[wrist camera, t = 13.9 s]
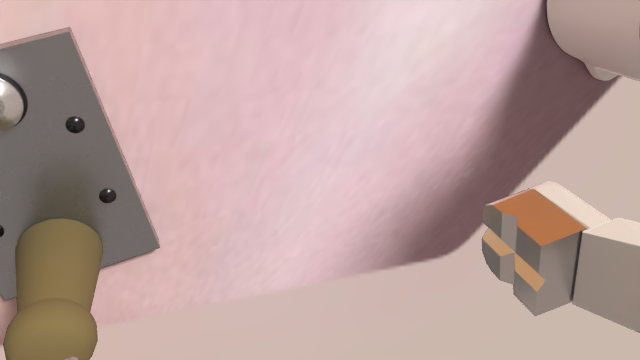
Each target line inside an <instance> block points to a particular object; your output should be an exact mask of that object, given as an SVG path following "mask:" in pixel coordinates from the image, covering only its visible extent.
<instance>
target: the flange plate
mask: <svg viewBox="0 0 640 360" xmlns="http://www.w3.org/2000/svg"><path fill="white" fill-rule="evenodd" d="M0 77H2V78H5V79H7V80H8V81H10V82H11V83H13V84H14V85H15V86H16V87H17V88H18V89H19V91H20V92H21V94H22V97H23V100H24V110H23V113H22V116H21V119H20V120H19V122H18V123H17V124H16V125H15V126H14V127H12V128H10V129H8V130H6V131H2V132H0V294H1V295H2V296H3V298H4V299H5V300H7V299H10V298H13V297H16V296H17V290H16V265H15V249H16V245H17V242H18V240H19V238H20V237H21V236H22V234H23V233H24V232H25V231H26V230H27V229H29V228H30V227H32V226H33V225H35V224H37V223H40V222H43V221H46V220H49V219H61V218H65V219H70V220H76V221H79V222H81V223H83V224H85V225H88V226H89V227H91V228H92V229H93V230H94V231H95V232H96V233H97V234H98V236H99V238H100V239H101V241H102V244H103V256H102V261H101V265H100V268H102V267H105V266H108V265H111V264H114V263H117V262H120V261H123V260H125V259H128V258H131V257H134V256H137V255H140V254H143V253H146V252H149V251H152V250H155V249H158V248H160V245H159V239H158V237H157V234H156V232H155V229H154V227H153V225H152V222H151V220H150V217H149V215H148V213H147V210H146V208H145V205H144V203H143V201H142V198H141V196H140V194H139V191H138V189H137V186H136V184H135V182H134V179H133V177H132V174H131V172H130V170H129V167H128V165H127V162H126V160H125V158H124V155H123V153H122V150H121V148H120V146H119V143H118V141H117V138H116V136H115V134H114V131H113V129H112V126H111V124H110V122H109V119H108V117H107V114H106V112H105V110H104V107H103V105H102V102H101V100H100V98H99V95H98V93H97V90H96V88H95V86H94V83H93V81H92V78H91V76H90V74H89V71H88V69H87V66H86V64H85V62H84V59H83V57H82V54H81V52H80V50H79V47H78V45H77V42H76V40H75V38H74V35H73V33H72V30H71V28H70V27H68V28H64V29H60V30H56V31H52V32H48V33H44V34H40V35H36V36H32V37H28V38H24V39H19V40H15V41H11V42H7V43H3V44H0Z"/></svg>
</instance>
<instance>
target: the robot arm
mask: <svg viewBox="0 0 640 360" xmlns="http://www.w3.org/2000/svg"><path fill="white" fill-rule="evenodd" d="M547 17H548V23H549V27H550V30H551V33H552V35H553V37H554V39H555V41H556V43H557V44H558V45H559V46H560V48H561V49H562V50H563V51H565V52H566V53H567V54H569V55H571V56H573V57H575V58H577V59H579V60H581V61H583V62H584V63H585V65H586V67H587V69H588V71H589V72H590V74H591V75H592V76H593V77H594V78H595V79H599V80H602V81H608V80H611V79H613V78H615V77H616V76H618V75H621V76H624V77H627V78H631V79H634V80H638V81H640V0H547ZM482 222H483V223H484V224H485V225H486V226H488V229H487V231H486V232H485V234H484V236H483V237H482V251H483V254H484V257H485V260H486V263H487V265H488V266H489V268H490V269H491V271H492V272H493V273H494V274H495V275H496V277H497V278H498V279H499V280H501V281H504V282H507V283H511V284H513V290H514V295H515V296H516V297H517V298H518V299H519V300H520V301H521V302H522V303H523V304H524V305H525V306H526V307H527V308H528V309H529V311H531V312H532V314H534V316H537V315H540V314H542V313H545V312H547V311H550V310H553V309H555V308H558V307H560V306H563V305H565V304H568V303H571V302H573V304H574V305H576V306H578V307H580V308H583V309H585V310H587V311H590V312H592V313H594V314H597V315H599V316H602V317H604V318H606V319H608V320H611V321H613V322H615V323H618V324H620V325H622V326H625V327H627V328H629V329H631V330H634V331H636V332H638V333H640V222H635V221H630V220H626V219H621V218H615V219H613V220H610V219H609V218H607V217H606V216H604V215H603V214H602V213H600V212H599V211H597V210H596V209H594V208H593V207H591V206H590V205H588V204H587V203H586V202H584V201H583V200H581V199H580V198H578V197H577V196H575V195H574V194H572V193H571V192H570V191H568V190H566V189H565V188H564V187H562V186H561V185H559V184H558V183H556V182H553V181H547V182H544V183H541V184H539V185H536V186H533V187H531V188H528V189H527V190H524V191H521V192H518V193H516V194H513V195H510V196H508V197H505V198H503V199H500V200H497V201H495V202H492V203H489V204H487V205H485V207H484V209H483V211H482ZM64 360H78V358H77V357H70V358H67V359H64Z"/></svg>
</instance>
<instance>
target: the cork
mask: <svg viewBox="0 0 640 360" xmlns="http://www.w3.org/2000/svg"><path fill="white" fill-rule="evenodd" d="M102 256H103V244H102V241H101V239H100V238H99V236H98V234H97V233H96V232H95V231H94V230H93V229H92V228H91V227H89V226H88V225H85V224H83V223H81V222H79V221H76V220H70V219H65V218H61V219H49V220H46V221H43V222H40V223H37V224H35V225H33V226H32V227H30V228H29V229H27V230H26V231H25V232H24V233H23V234H22V236H21V237H20V238H19V240H18V242H17V245H16V249H15V265H16V290H17V315H16V316H15V317H14V318H13V320H12V321H11V323H10V324H9V326H8V328H7V331H6V335H5V339H4V343H3V346H4V351H5V356H6V360H64V359H67V358H70V357H77V358H78V360H89V359H90V358H91V357H92V355H93V352H94V349H95V346H96V343H97V325H96V322H95V320H94V318H93V316H92V315H91V313H90V311H91V306H92V302H93V297H94V293H95V288H96V284H97V279H98V275H99V270H100V265H101V261H102Z"/></svg>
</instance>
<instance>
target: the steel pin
mask: <svg viewBox="0 0 640 360" xmlns="http://www.w3.org/2000/svg"><path fill="white" fill-rule="evenodd" d="M23 110H24V100H23V97H22V94H21V92H20V91H19V89H18V88H17V87H16V86H15V85H14V84H13V83H11V82H10V81H8V80H7V79H5V78H2V77H0V132H2V131H6V130H8V129H10V128H12V127H14V126H15V125H16V124H17V123H18V122H19V120H20V119H21V116H22V113H23Z"/></svg>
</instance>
